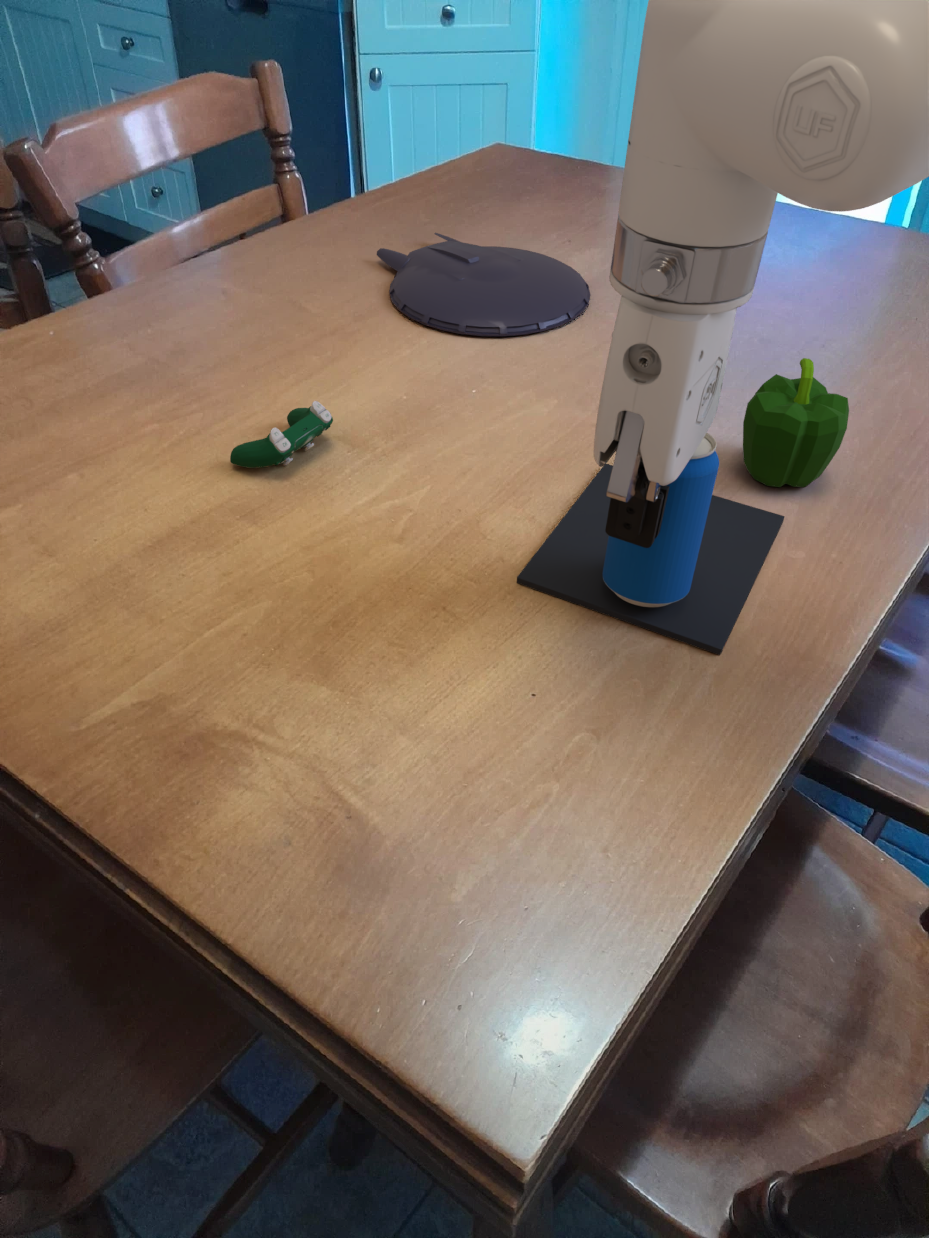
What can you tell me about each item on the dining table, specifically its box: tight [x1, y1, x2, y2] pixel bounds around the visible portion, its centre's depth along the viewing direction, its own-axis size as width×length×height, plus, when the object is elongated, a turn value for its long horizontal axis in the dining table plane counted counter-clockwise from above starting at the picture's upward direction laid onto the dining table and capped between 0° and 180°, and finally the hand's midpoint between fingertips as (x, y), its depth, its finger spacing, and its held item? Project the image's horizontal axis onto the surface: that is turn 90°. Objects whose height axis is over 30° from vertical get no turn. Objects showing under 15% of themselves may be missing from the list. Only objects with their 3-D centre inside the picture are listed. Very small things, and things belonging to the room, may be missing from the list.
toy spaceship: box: [376, 232, 591, 337], centre depth 108 cm, size 28×24×3 cm
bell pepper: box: [742, 357, 850, 488], centre depth 77 cm, size 8×8×10 cm
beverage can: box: [603, 432, 720, 607], centre depth 64 cm, size 6×6×12 cm
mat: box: [516, 463, 785, 656], centre depth 72 cm, size 16×18×1 cm
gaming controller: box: [229, 400, 334, 469], centre depth 80 cm, size 9×4×6 cm
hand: (631, 534), depth 59 cm, fingers closed
